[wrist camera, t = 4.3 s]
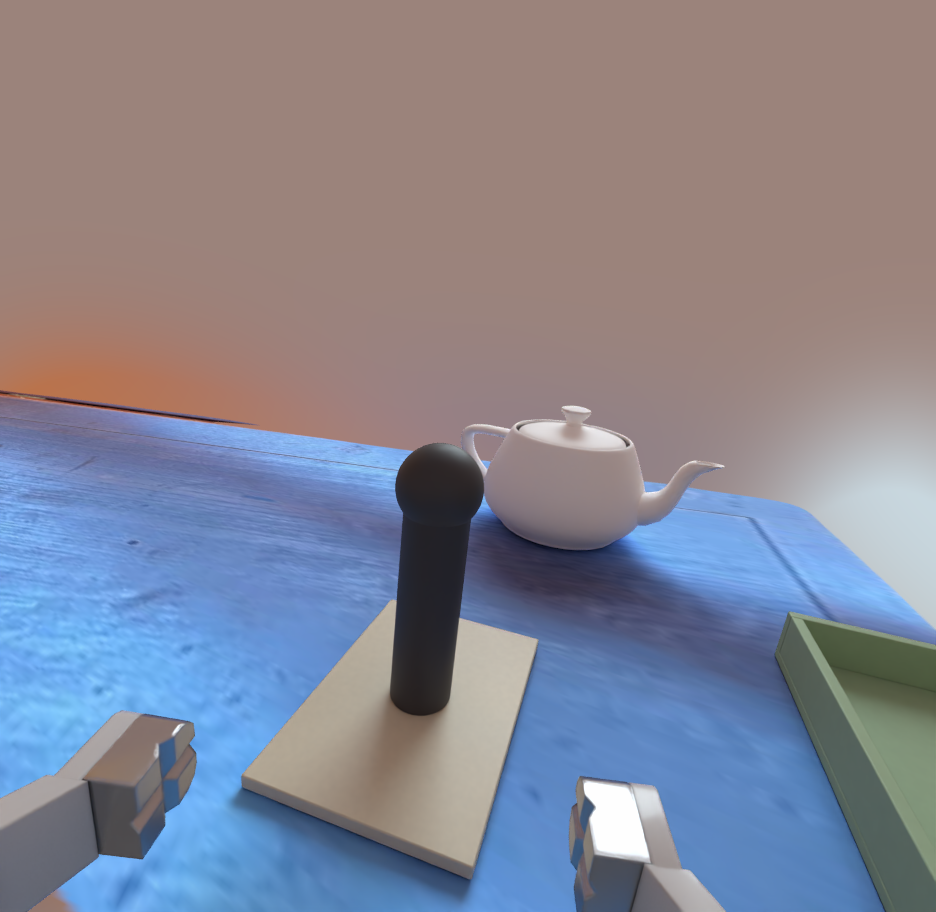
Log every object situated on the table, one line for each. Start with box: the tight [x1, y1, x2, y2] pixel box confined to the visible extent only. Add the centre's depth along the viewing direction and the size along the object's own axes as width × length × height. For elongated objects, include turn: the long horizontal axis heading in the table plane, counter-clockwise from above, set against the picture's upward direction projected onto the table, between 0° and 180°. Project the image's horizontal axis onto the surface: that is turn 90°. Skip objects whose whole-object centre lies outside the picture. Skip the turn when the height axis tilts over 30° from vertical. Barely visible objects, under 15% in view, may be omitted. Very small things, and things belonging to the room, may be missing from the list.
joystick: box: [241, 443, 538, 880], centre depth 22 cm, size 13×9×13 cm
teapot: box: [461, 406, 725, 550], centre depth 44 cm, size 22×14×11 cm, turn 62°
